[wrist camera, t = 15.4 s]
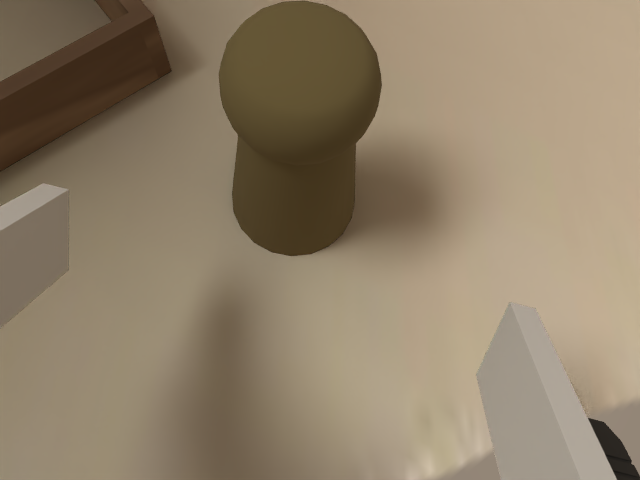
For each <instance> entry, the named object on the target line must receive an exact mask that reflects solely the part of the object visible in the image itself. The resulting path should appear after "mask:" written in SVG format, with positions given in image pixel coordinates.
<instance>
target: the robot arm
mask: <svg viewBox="0 0 640 480" xmlns="http://www.w3.org/2000/svg"><path fill="white" fill-rule="evenodd" d="M68 270H69V189H65V188H61V187H57V186H53V185H49V184H46V183H42V184H41V185H39V186H37V187H35V188H33V189H31V190H29V191H28V192H26V193H24V194H22V195H20V196H18V197H17V198H15V199H13V200H11V201H9V202H7V203H5V204H4V205H2V206H0V328H1V327H3V326H4V325H5V324H6V323H7V322H8V321H10V320H11V319H12V318H13V317H14V316H15V315H17V314H18V313H19V312H20V311H21V310H22V309H24V308H25V307H26V306H27V305H28V304H29V303H31V302H32V301H33V300H34V299H35V298H36V297H38V296H39V295H40V294H41V293H42V292H43V291H45V290H46V289H47V288H48V287H49V286H50V285H52V284H53V283H54V282H55V281H56V280H57V279H59V278H60V277H61V276H62V275H63V274H64V273H66V272H67V271H68ZM476 376H477V381H478V385H479V389H480V393H481V398H482V402H483V406H484V411H485V415H486V419H487V423H488V428H489V432H490V436H491V441H492V445H493V449H494V453H495V458H496V462H497V466H498V470H499V475H500V478H501V480H640V476H639V474H638V472H637V470H636V468H635V466H634V465H632V464H631V459H630V457H629V455H628V453H627V451H626V449H625V447H624V445H623V444H622V442H621V440H620V439H619V438H618V437H617V436H616V435H615V434H614V433H613V432H612V431H611V429H609V427H608V426H607V425H606V424H605V423H604V422H602V421H598V420H594V419H590V418H587V416H586V413H585V411H584V409H583V407H582V405H581V403H580V401H579V399H578V397H577V394H576V392H575V390H574V388H573V386H572V384H571V382H570V380H569V378H568V375H567V373H566V371H565V369H564V367H563V365H562V363H561V361H560V359H559V356H558V354H557V352H556V350H555V348H554V346H553V344H552V342H551V340H550V338H549V335H548V333H547V331H546V329H545V327H544V325H543V323H542V321H541V319H540V316H539V314H538V312H537V310H536V308H532V307H528V306H524V305H520V304H516V303H512V302H509V304H508V307H507V309H506V311H505V313H504V315H503V317H502V320H501V322H500V324H499V326H498V328H497V330H496V333H495V335H494V337H493V339H492V341H491V343H490V346H489V348H488V350H487V352H486V354H485V356H484V359H483V361H482V363H481V365H480V367H479V369H478V371H477V374H476Z"/></svg>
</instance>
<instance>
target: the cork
mask: <svg viewBox="0 0 640 480" xmlns="http://www.w3.org/2000/svg"><path fill="white" fill-rule="evenodd" d="M219 83H220V96H221V101H222V105H223V108H224V110H225V112H226V114H227V117H228V119H229V121H230V123H231V125H232V127H233V129H234V130H235V131H236V133H237V134H238V143H237V152H236V162H235V172H234V181H233V191H232V198H233V210H234V214H235V216H236V218H237V220H238V223H239V225H240V227H241V229H242V230H243V231H244V232H245V233H246V234H247V235H248V236H249V237H250V238H251V240H252V241H253V242H254V243H256V244H258V245H260V246H262V247H263V248H265V249H267V250H269V251H271V252H274V253H279V254H284V255H289V256H295V255H304V254H312V253H314V252H316V251H318V250H321V249H323V248H325V247H328V246H329V245H330V244H332V243H333V242H334V241H335V240H336V239H337V238H338V237H339V236H341V235H342V234H343V232H344V230H345V229H346V227H347V225H348V223H349V222H350V220H351V218H352V212H353V207H354V201H355V154H356V142H357V141H358V140H359V139H360V138H361V137H362V136H363V135H364V133H365V132H366V130H367V128H368V127H369V125H370V123H371V122H372V120H373V118H374V117H375V114H376V111H377V108H378V103H379V98H380V92H381V86H382V83H381V73H380V68H379V63H378V58H377V53H376V52H375V50H374V48H373V47H372V45H371V43H370V42H369V40H368V38H367V36H366V35H365V33H364V32H363V31H362V29H361V28H360V27H359V26H358V25H357V24H355V23H354V22H353V21H352V20H351V19H350V18H349V17H348V16H347V15H345V14H343V13H341V12H339V11H337V10H335V9H333V8H331V7H329V6H327V5H323V4H318V3H313V2H308V1H290V2H281V3H278V4H275V5H272V6H269V7H266V8H263V9H261V10H260V11H258V12H257V13H255V14H254V15H253V16H251V17H250V18H248V19H247V20H246V21H245V22H244V23H243V24H242V25H241V26H240V27H239V28H238V29H237V31H236V32H235V33H234V35H233V36H232V37H231V39H230V40H229V41H228V43H227V45H226V49H225V52H224V55H223V59H222V62H221V66H220V71H219Z"/></svg>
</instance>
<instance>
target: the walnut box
mask: <svg viewBox="0 0 640 480" xmlns="http://www.w3.org/2000/svg"><path fill="white" fill-rule="evenodd" d="M95 1H96V2H97V4H98V5H99V6H100V7H101V9H102V10H103V11H104V12H105V13H106V15H107V16H108V17H109V18H110V20H111V21H112V22H110V23H108V24H106V25H105V26H103V27H101V28H99V29H97V30H95V31H94V32H92V33H90V34H88V35H86V36H84V37H82V38H81V39H79V40H77V41H75V42H73V43H71V44H69V45H68V46H66V47H64V48H62V49H60V50H58V51H56V52H55V53H53V54H51V55H49V56H47V57H45V58H44V59H42V60H40V61H38V62H36V63H34V64H32V65H31V66H29V67H27V68H25V69H23V70H21V71H19V72H18V73H16V74H14V75H12V76H10V77H8V78H6V79H5V80H3V81H1V82H0V171H2V170H3V169H5V168H7V167H9V166H10V165H12V164H14V163H15V162H17V161H19V160H20V159H22V158H24V157H26V156H27V155H29V154H31V153H32V152H34V151H36V150H37V149H39V148H41V147H43V146H44V145H46V144H48V143H49V142H51V141H53V140H55V139H56V138H58V137H60V136H61V135H63V134H65V133H66V132H68V131H70V130H72V129H73V128H75V127H77V126H78V125H80V124H82V123H84V122H85V121H87V120H89V119H90V118H92V117H94V116H95V115H97V114H99V113H101V112H102V111H104V110H106V109H107V108H109V107H111V106H113V105H114V104H116V103H118V102H119V101H121V100H123V99H124V98H126V97H128V96H130V95H131V94H133V93H135V92H136V91H138V90H140V89H142V88H143V87H145V86H147V85H148V84H150V83H152V82H153V81H155V80H157V79H159V78H160V77H162V76H164V75H165V74H167V73H169V72H171V71H172V70H171V67H170V64H169V61H168V58H167V55H166V52H165V49H164V46H163V43H162V40H161V37H160V34H159V30H158V27H157V24H156V21H155V18H154V16H153V14H152V13H151V12H150V11H149V10H148V8H147V7H146V6H145V5H144V4H143V3H142V1H141V0H95Z"/></svg>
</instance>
